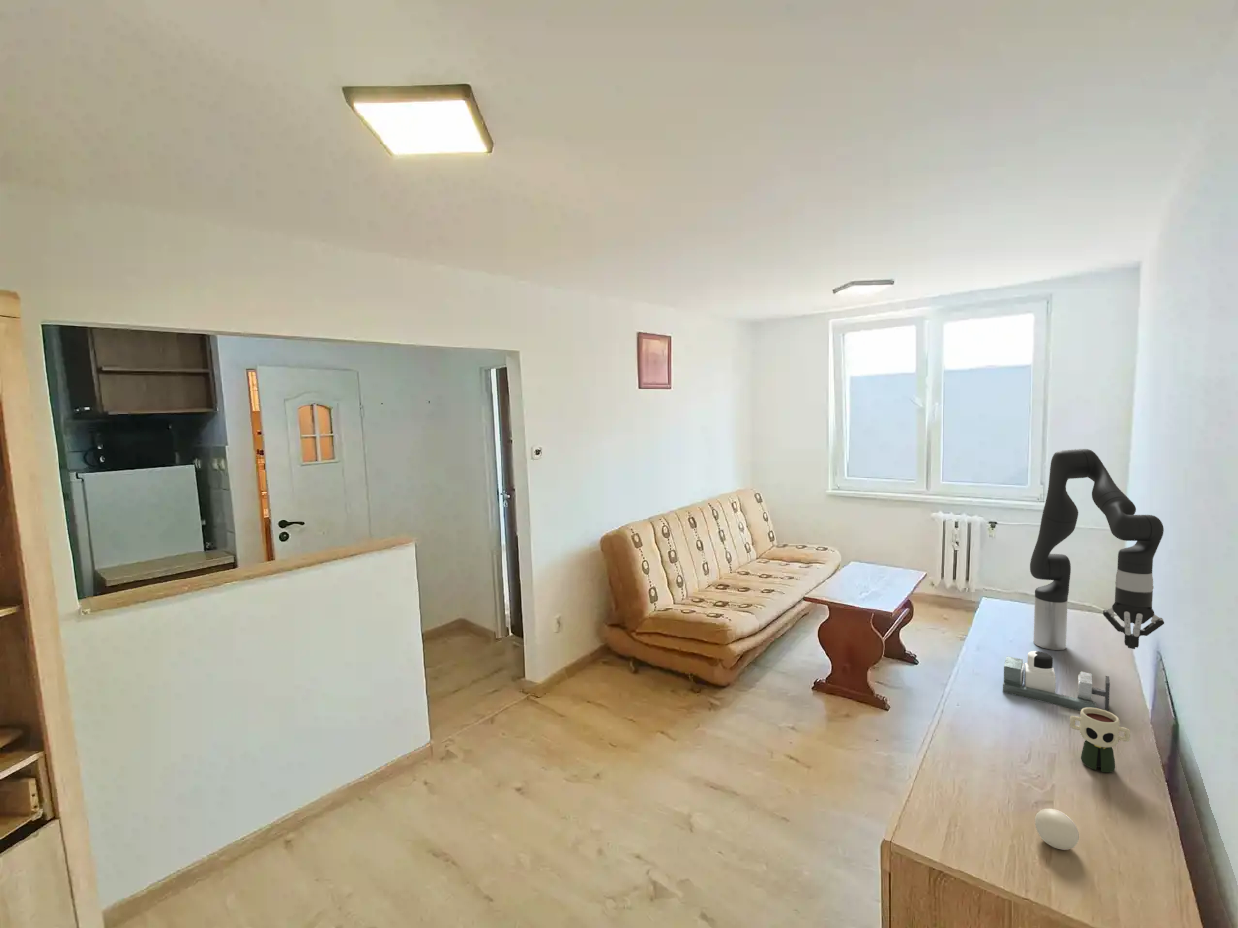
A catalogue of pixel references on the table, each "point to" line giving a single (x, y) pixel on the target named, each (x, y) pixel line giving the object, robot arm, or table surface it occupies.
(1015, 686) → the vise bed
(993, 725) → the table surface
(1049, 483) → the robot arm
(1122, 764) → the table surface
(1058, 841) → the white egg
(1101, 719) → the character mug
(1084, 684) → the sliding jaw
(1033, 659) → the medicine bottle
